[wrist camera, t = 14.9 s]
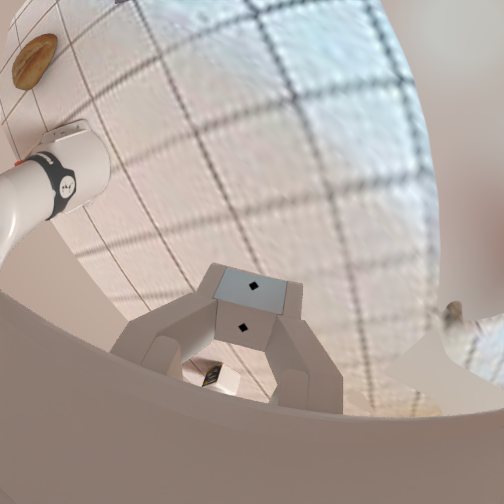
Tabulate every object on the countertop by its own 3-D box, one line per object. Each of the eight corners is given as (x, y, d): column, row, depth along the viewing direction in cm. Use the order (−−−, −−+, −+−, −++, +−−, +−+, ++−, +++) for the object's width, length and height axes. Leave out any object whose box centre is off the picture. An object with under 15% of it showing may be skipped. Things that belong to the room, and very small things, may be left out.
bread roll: (68, 47, 32) (40, 48, 26) (37, 98, 39) (11, 105, 32) (54, 25, 29) (27, 26, 22) (24, 75, 35) (0, 80, 29)
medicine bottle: (222, 361, 71) (210, 398, 61) (241, 374, 73) (232, 410, 63) (208, 368, 74) (195, 402, 64) (226, 380, 76) (216, 413, 66)
